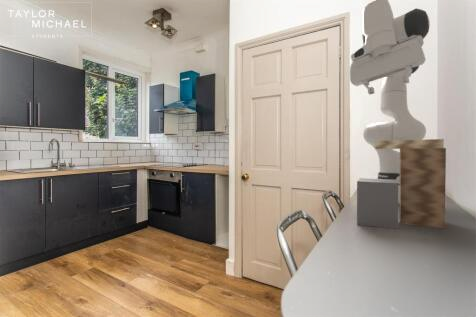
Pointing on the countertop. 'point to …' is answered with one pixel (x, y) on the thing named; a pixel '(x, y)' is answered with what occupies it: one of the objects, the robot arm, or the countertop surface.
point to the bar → (409, 144)
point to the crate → (377, 202)
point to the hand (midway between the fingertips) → (388, 88)
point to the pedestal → (422, 186)
